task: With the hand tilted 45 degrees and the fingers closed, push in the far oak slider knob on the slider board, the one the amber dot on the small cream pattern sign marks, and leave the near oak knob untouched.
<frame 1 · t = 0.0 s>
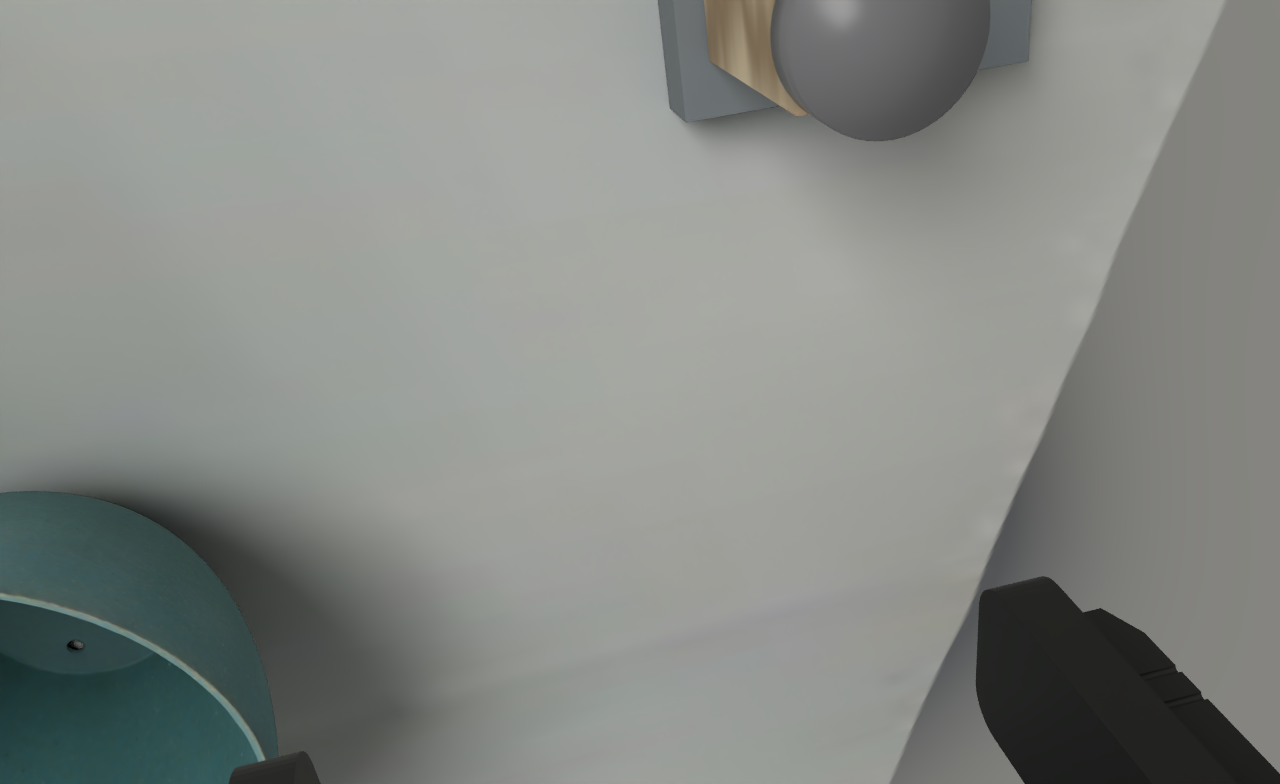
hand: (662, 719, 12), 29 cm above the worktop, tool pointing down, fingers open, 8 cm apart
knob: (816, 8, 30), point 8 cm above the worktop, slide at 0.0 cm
teal round bowl: (76, 582, 43), on the worktop
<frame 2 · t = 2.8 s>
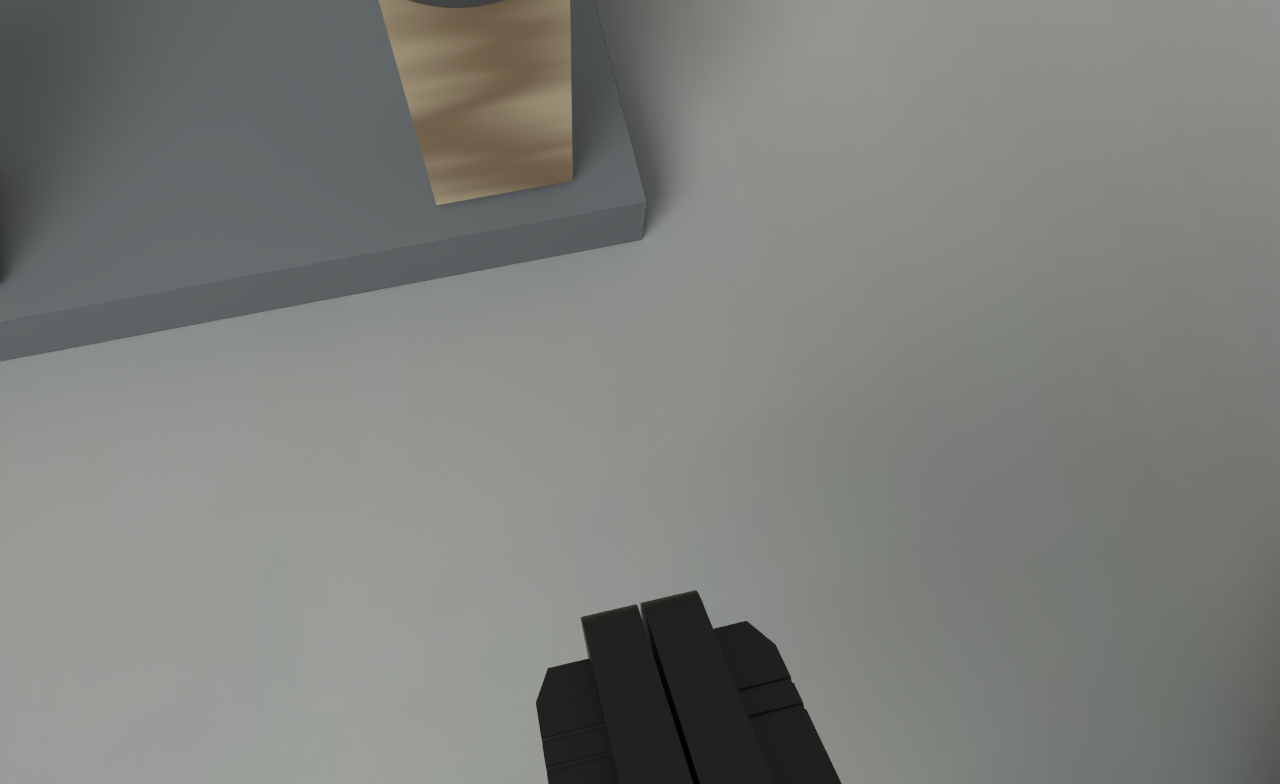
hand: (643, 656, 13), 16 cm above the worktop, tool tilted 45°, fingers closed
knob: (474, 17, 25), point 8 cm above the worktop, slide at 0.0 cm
slider board: (231, 127, 33), on the worktop
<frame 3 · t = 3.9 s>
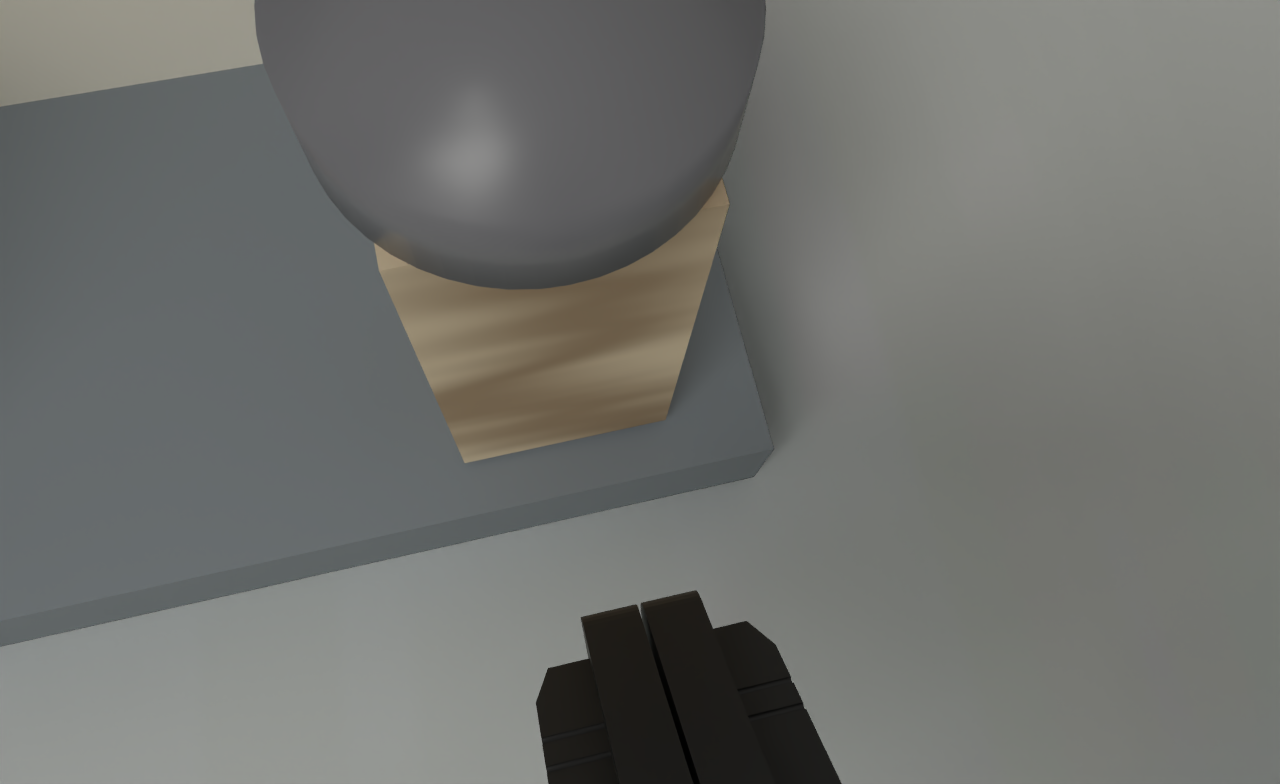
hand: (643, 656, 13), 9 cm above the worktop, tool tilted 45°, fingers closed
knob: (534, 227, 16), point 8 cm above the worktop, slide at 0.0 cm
slider board: (167, 316, 23), on the worktop
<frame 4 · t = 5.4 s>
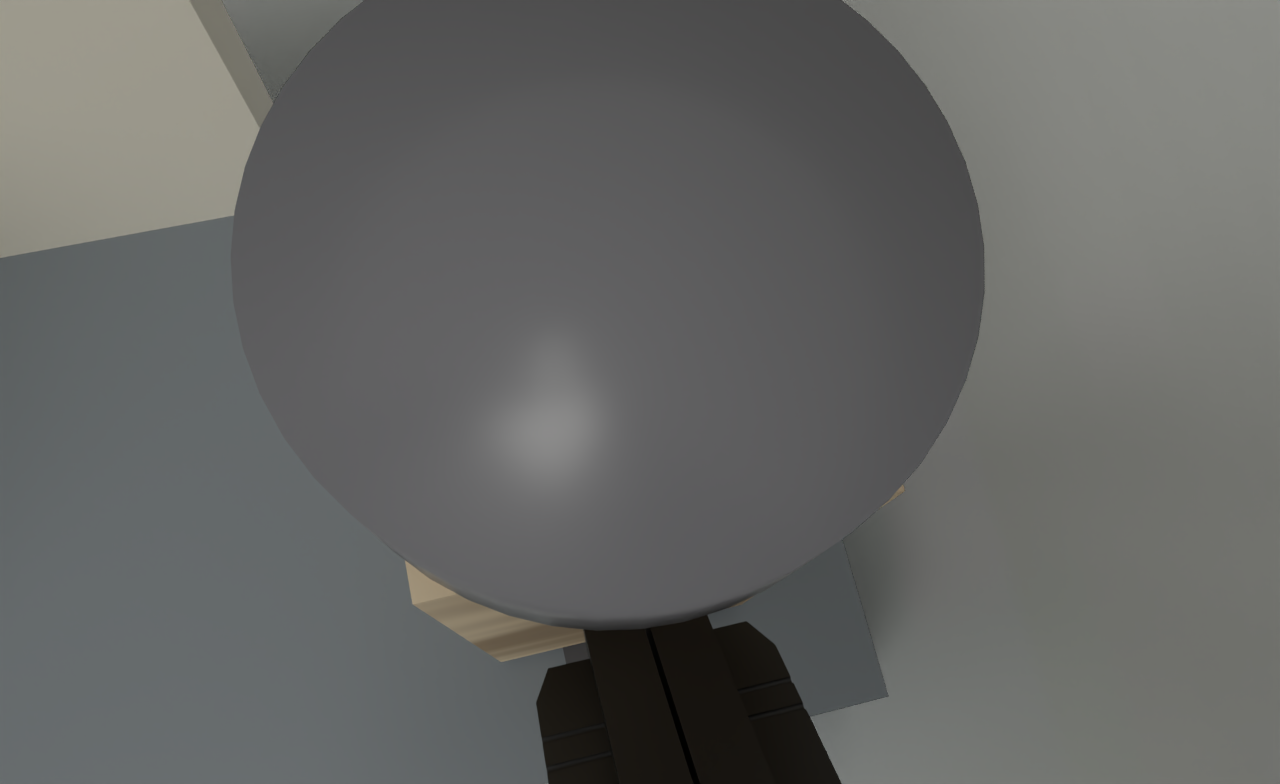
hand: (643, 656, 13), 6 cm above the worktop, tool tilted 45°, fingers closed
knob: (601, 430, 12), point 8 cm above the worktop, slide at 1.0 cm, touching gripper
slider board: (154, 503, 20), on the worktop
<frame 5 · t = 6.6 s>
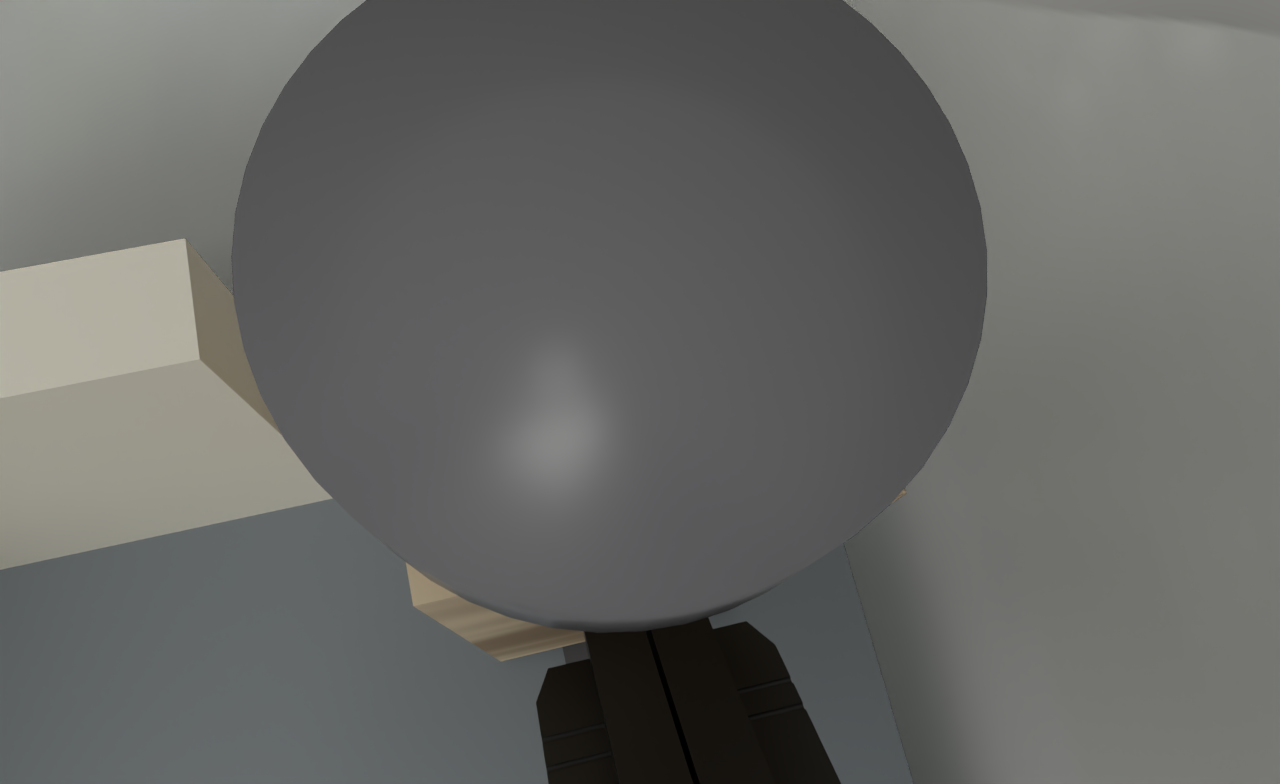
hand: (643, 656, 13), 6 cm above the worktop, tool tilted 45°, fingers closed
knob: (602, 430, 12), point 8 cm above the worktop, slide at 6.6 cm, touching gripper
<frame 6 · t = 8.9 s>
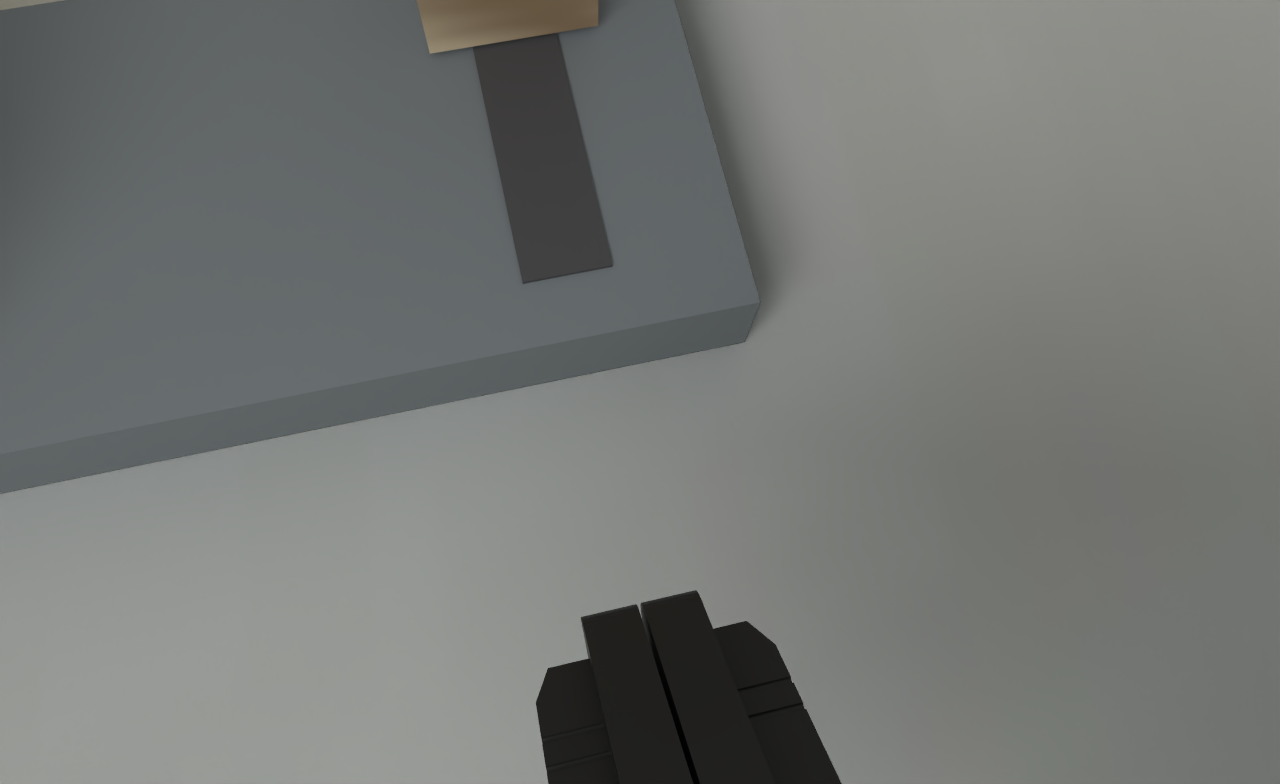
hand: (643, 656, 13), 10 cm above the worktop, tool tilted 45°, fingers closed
slider board: (212, 196, 26), on the worktop
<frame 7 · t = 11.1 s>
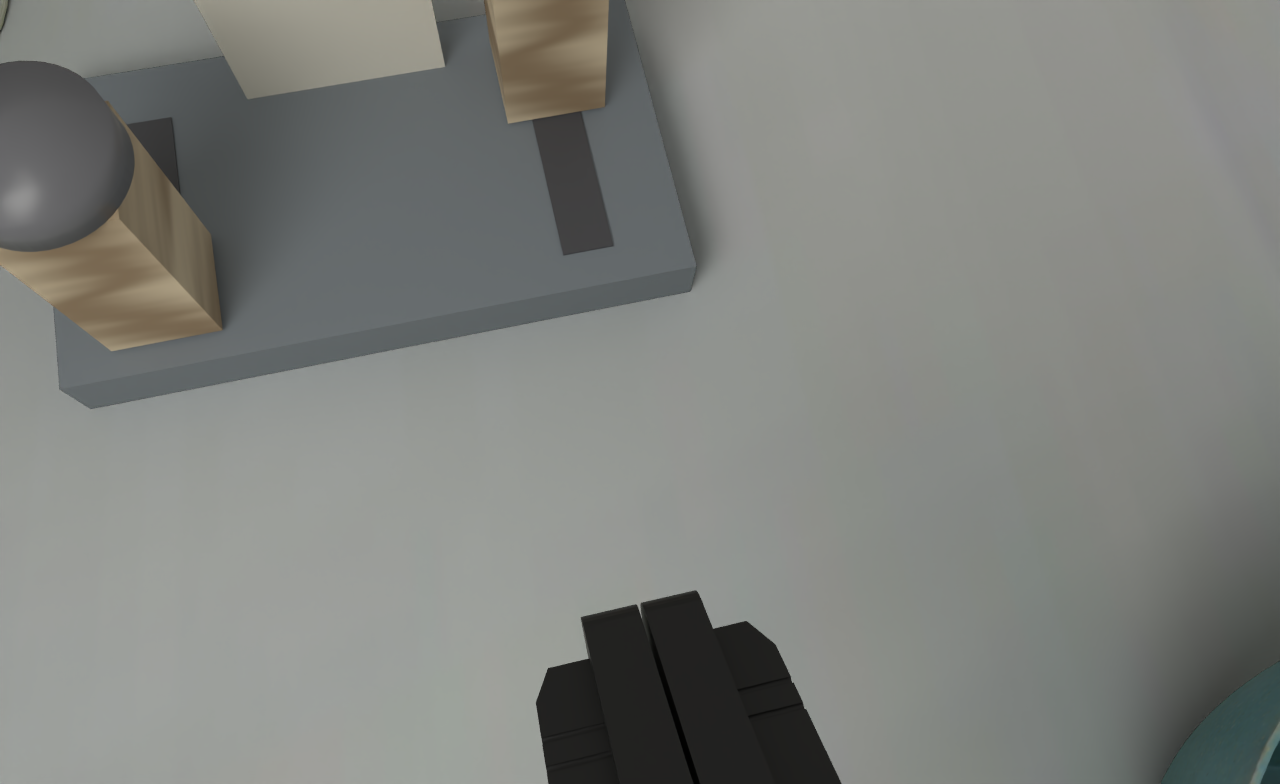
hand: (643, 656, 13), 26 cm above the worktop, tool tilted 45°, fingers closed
slider board: (375, 205, 43), on the worktop
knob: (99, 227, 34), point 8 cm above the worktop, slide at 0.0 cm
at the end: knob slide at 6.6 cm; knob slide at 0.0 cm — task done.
